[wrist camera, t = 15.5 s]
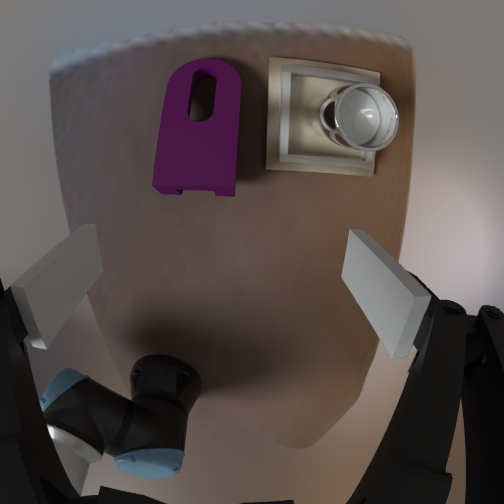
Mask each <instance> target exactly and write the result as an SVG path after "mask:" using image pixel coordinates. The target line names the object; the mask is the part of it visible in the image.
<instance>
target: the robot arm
mask: <svg viewBox="0 0 504 504" xmlns="http://www.w3.org/2000/svg"><path fill="white" fill-rule="evenodd" d="M102 272H103V270H102V265H101V259H100V253H99V246H98V239H97V232H96V224H89V225H82V226H81V227H80V228H78V229H77V230H76V231H74V232H73V233H72V234H70V235H69V236H68V237H67V238H65V239H64V240H63V241H62V242H60V243H59V244H58V245H57V246H55V248H53V249H52V250H50V251H49V252H48V253H47V254H46V255H45V256H43V257H42V258H41V259H40V260H39V261H37V262H36V263H35V264H34V265H33V266H32V267H31V268H29V269H28V270H27V271H26V272H25V273H24V274H23V275H22V276H20V277H19V278H18V279H17V280H16V281H15V282H14V283H13V284H12V285H11V286H10V287H9V288H8V289H7V290H6V291H4V288H3V285H2V282H1V279H0V504H166V503H163V502H160V501H158V500H155V499H153V498H150V497H147V496H145V495H141V494H136V493H130V492H126V491H121V490H116V489H112V488H108V487H104V486H100V490H99V495H89V496H82V497H81V494H82V490H83V486H84V483H85V480H86V476H87V473H88V469H89V466H90V464H91V463H94V462H96V461H99V460H101V459H102V456H103V453H107V454H109V455H111V456H113V457H114V464H115V466H116V467H117V468H118V469H121V471H123V472H125V473H127V474H131V475H134V476H138V477H143V478H151V479H161V478H169V477H172V476H175V475H176V474H178V473H179V472H180V470H181V467H182V462H183V457H184V455H185V453H184V449H185V439H186V430H187V422H188V414H189V412H190V410H191V409H192V407H193V405H194V404H195V402H196V400H197V398H198V397H199V394H200V387H201V382H200V378H199V376H198V374H197V373H196V372H195V371H194V370H193V369H192V368H191V367H190V366H188V365H187V364H185V363H184V362H182V361H180V360H177V359H175V358H171V357H167V356H160V355H152V356H146V357H143V358H141V359H139V360H138V361H137V362H136V363H135V364H134V366H133V369H132V372H131V375H130V383H131V395H132V399H131V400H129V399H127V398H125V397H123V396H121V395H119V394H117V393H116V392H114V391H112V390H110V389H108V388H106V387H105V386H103V385H101V384H99V383H98V382H96V381H94V380H93V379H91V378H90V377H89V376H87V375H83V374H82V373H80V372H78V371H76V370H74V369H72V368H65V369H63V370H62V371H60V372H59V374H57V376H56V377H55V378H54V379H53V380H52V382H51V383H50V385H49V386H48V387H47V389H46V391H45V392H44V394H43V397H42V398H41V400H40V401H39V398H38V395H37V391H36V387H35V383H34V379H33V375H32V371H31V367H30V362H29V357H28V353H27V347H26V346H25V343H24V341H23V340H24V339H25V337H26V336H27V335H28V336H29V339H30V341H31V343H32V345H33V347H37V348H42V349H47V348H48V347H49V345H50V344H51V342H52V341H53V339H54V338H55V336H56V335H57V333H58V332H59V331H60V329H61V328H62V326H63V325H64V323H65V322H66V320H67V319H68V318H69V316H70V315H71V313H72V312H73V311H74V309H75V308H76V307H77V305H78V304H79V302H80V301H81V300H82V298H83V297H84V296H85V294H86V293H87V292H88V290H89V289H90V288H91V287H92V285H93V284H94V283H95V281H96V280H97V279H98V277H99V276H100V275H101V274H102ZM341 277H342V279H343V280H344V282H345V284H346V285H347V287H348V288H349V290H350V291H351V293H352V294H353V296H354V298H355V299H356V301H357V302H358V304H359V306H360V307H361V309H362V310H363V312H364V314H365V315H366V317H367V319H368V320H369V322H370V323H371V325H372V327H373V328H374V330H375V332H376V333H377V335H378V337H379V338H380V340H381V342H382V343H383V345H384V347H385V349H386V350H387V352H388V354H389V355H390V357H391V359H394V358H401V357H407V356H408V355H409V352H410V350H411V348H412V345H413V344H414V346H415V347H416V349H417V350H418V351H417V353H416V355H415V357H414V359H413V361H412V364H411V366H410V368H409V370H408V372H409V375H408V378H407V381H406V383H405V386H404V389H403V392H402V394H401V396H400V399H399V402H398V404H397V407H396V409H395V411H394V414H393V416H392V419H391V421H390V423H389V425H388V428H387V430H386V432H385V434H384V436H383V438H382V441H381V443H380V445H379V447H378V449H377V451H376V453H375V455H374V457H373V459H372V461H371V462H370V465H369V466H368V468H367V470H366V472H365V474H364V475H363V477H362V479H361V481H360V483H359V484H358V486H357V488H356V489H355V491H354V493H353V494H352V496H351V497H350V499H349V500H348V502H347V503H346V504H446V500H447V498H448V495H449V492H450V488H451V484H452V474H451V473H447V472H446V470H445V469H446V464H447V461H448V457H449V453H450V449H451V445H452V440H453V436H454V431H455V427H456V422H457V416H458V411H459V405H460V398H461V400H462V409H463V418H464V431H465V447H466V495H465V496H466V497H465V504H504V314H503V313H502V312H501V311H500V309H498V308H496V307H495V306H489V305H484V306H482V307H481V308H480V310H479V313H478V315H477V316H473V315H467V313H466V310H465V309H464V308H463V307H462V306H461V305H459V304H458V303H456V302H454V301H450V300H440V299H439V298H438V297H437V296H436V295H435V294H434V293H433V292H432V291H431V290H430V289H429V288H427V286H426V285H425V284H424V283H422V281H421V280H420V279H419V278H418V277H417V276H415V275H414V274H412V273H410V272H408V271H406V270H405V269H404V268H403V267H402V266H401V265H400V264H399V263H398V262H397V261H396V260H395V259H394V258H393V257H392V256H391V255H390V254H389V253H388V252H387V251H385V250H384V249H383V248H382V247H381V246H380V245H379V244H378V243H377V242H376V241H375V240H373V239H372V238H371V237H370V236H369V235H368V234H367V233H366V232H365V231H363V230H355V229H350V230H349V236H348V242H347V248H346V254H345V260H344V265H343V271H342V276H341ZM241 504H294V501H293V500H285V501H273V502H255V503H241Z"/></svg>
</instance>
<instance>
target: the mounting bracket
mask: <svg viewBox="0 0 504 504" xmlns="http://www.w3.org/2000/svg"><path fill="white" fill-rule="evenodd" d="M202 76H212V77H214V78H216V79H217V85H216V93H215V102H214V111H213V114H212V116H211V117H210V118H209V119H207V120H206V121H203V122H196V121H193V120H191V119H190V118H189V117H190V110H191V103H192V96H193V90H194V84H195V82H196V80H197V79H198V78H200V77H202ZM240 101H241V79H240V76H239V74H238V72H237V71H236V70H235V69H234V68H233V67H232V66H231V65H230V64H228V63H226V62H224V61H221V60H218V59H211V58H204V59H197V60H194V61H191V62H188V63H186V64H184V65H183V66H181V67H180V68H179V69H177V70H176V71H175V72H174V74H173V75H172V76H171V78H170V80H169V82H168V85H167V89H166V94H165V100H164V105H163V111H162V117H161V123H160V129H159V135H158V142H157V149H156V156H155V164H154V173H153V181H152V186H153V187H154V188H156V189H157V190H158V191H159V192H160V193H161V194H176V195H181V194H182V192H183V190H208V191H214V192H215V195H216V196H234V197H235V182H236V165H237V148H238V129H239V115H240Z"/></svg>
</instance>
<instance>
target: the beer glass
mask: <svg viewBox="0 0 504 504" xmlns="http://www.w3.org/2000/svg"><path fill="white" fill-rule="evenodd" d="M304 122H305V125H306V127H307V128H308V130H309V131H310V132H311V133H312V134H313V135H315V136H317V137H320V138H325V139H329V140H330V141H332V142H333V143H335V144H337V145H339V146H341V147H344V148H347V149H352V150H360V151H367V152H373V151H378V150H381V149H383V148H385V147H386V146H387V145H389V144H390V143H391V142H392V140H393V139H394V137H395V135H396V133H397V130H398V125H399V115H398V111H397V107H396V105H395V103H394V101H393V99H392V98H391V97H390V95H389V94H388V93H387V92H386V91H384V90H383V89H382V88H380V87H378V86H376V85H373V84H369V83H359V84H349V85H344V86H340V87H337V88H335V89H333V90H331V91H330V92H328V93H327V94H326V95H325V96H320V97H316V98H314V99H312V100H311V101H310V102H309V103H308V104H307V106H306V108H305V110H304Z"/></svg>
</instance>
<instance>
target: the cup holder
mask: <svg viewBox="0 0 504 504" xmlns="http://www.w3.org/2000/svg"><path fill="white" fill-rule="evenodd" d="M359 83H369V84H373V85H376V86H378V87H380V73H377V72H373V71H368V70H364V69H359V68H354V67H348V66H343V65H337V64H330V63H323V62H316V61H308V60H299V59H289V58H276V57H270V58H269V79H268V109H267V137H266V164H265V169H266V170H290V171H308V172H324V173H337V174H348V175H359V176H369V177H373V173H374V164H375V155H376V151H373V152H367V151H360V150H352V149H347V148H344V147H341V146H339V145H337V144H335V143H333V142H332V141H330V140H329V139H325V138H320V137H317V136H315V135H313V134H312V133H311V132H310V131H309V130H308V128H307V127H306V125H305V122H304V110H305V108H306V106H307V104H308V103H309V102H310V101H311V100H312V99H314V98H316V97H320V96H325V95H326V94H327V93H328V92H330V91H331V90H333V89H335V88H337V87H340V86H344V85H349V84H359Z"/></svg>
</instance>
